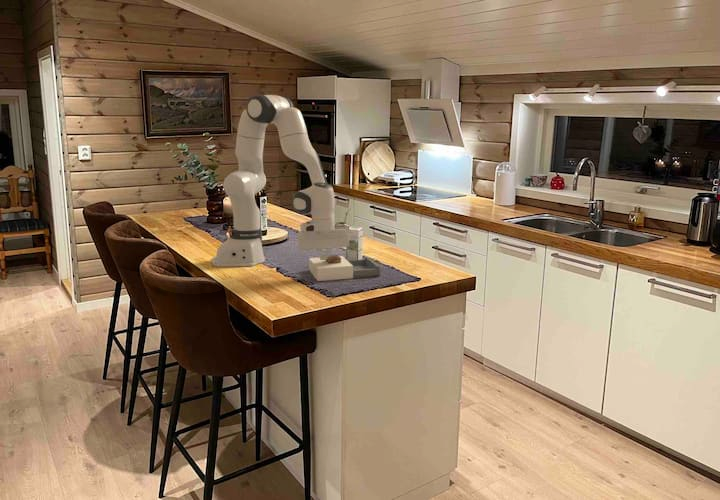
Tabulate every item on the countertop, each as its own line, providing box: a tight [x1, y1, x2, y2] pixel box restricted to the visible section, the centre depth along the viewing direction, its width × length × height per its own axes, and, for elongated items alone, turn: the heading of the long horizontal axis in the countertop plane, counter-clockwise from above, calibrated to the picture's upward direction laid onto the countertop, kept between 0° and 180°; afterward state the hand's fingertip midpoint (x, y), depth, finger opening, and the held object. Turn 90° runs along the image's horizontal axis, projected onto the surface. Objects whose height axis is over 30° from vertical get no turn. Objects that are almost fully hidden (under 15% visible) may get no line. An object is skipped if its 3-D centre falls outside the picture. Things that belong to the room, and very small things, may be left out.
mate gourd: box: [335, 208, 351, 225], centre depth 300 cm, size 8×8×15 cm
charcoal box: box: [347, 256, 381, 279], centre depth 242 cm, size 11×16×4 cm, turn 17°
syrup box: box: [345, 226, 364, 260], centre depth 258 cm, size 6×6×14 cm
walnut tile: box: [326, 254, 341, 264], centre depth 238 cm, size 5×5×2 cm
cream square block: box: [308, 255, 354, 282], centre depth 239 cm, size 14×16×5 cm
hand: (323, 259), depth 237 cm, fingers closed
